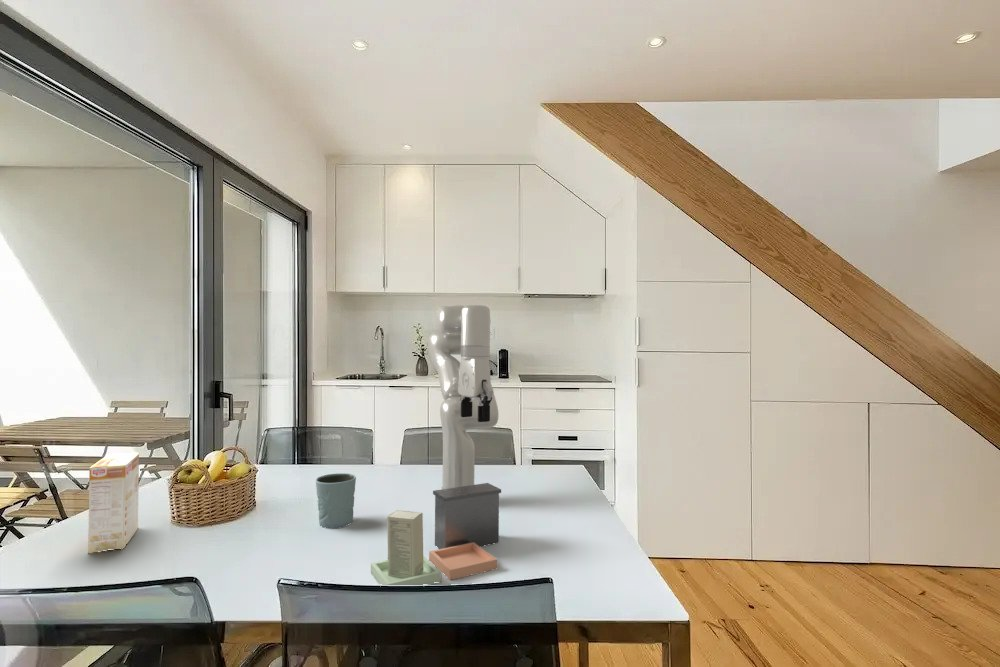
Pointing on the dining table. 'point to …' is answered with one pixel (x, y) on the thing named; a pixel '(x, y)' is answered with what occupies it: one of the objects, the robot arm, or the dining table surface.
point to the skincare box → (405, 544)
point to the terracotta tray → (462, 560)
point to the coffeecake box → (113, 501)
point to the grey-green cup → (335, 499)
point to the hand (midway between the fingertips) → (474, 419)
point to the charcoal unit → (467, 515)
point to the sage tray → (426, 577)
